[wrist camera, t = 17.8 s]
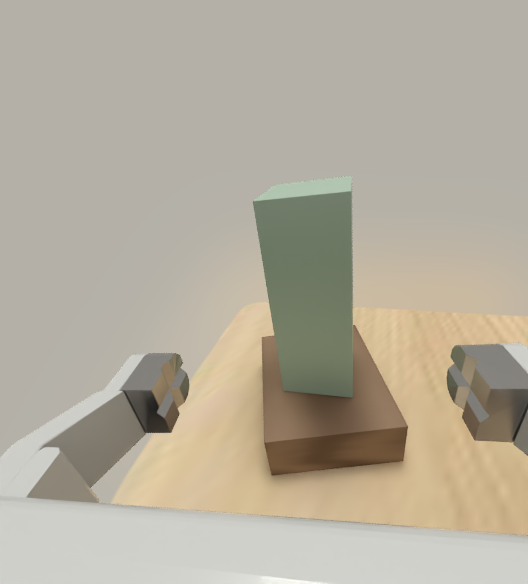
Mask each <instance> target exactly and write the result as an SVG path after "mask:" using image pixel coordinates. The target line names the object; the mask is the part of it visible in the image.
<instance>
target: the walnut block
mask: <svg viewBox="0 0 528 584" xmlns="http://www.w3.org/2000/svg"><path fill="white" fill-rule="evenodd" d="M262 365H263V405H264V443H265V447H266V452H267V456H268V460H269V465H270V469H271V473H272V475H279V474H288V473H298V472H307V471H316V470H325V469H334V468H343V467H352V466H362V465H371V464H380V463H389V462H398V461H403V458H404V451H405V444H406V436H407V429H408V426H407V424H406V422H405V420H404V418H403V416H402V414H401V412H400V410H399V409H398V407H397V405H396V403H395V401H394V399H393V397H392V395H391V393H390V391H389V389H388V387H387V386H386V384H385V382H384V380H383V378H382V376H381V374H380V372H379V370H378V368H377V366H376V364H375V363H374V361H373V359H372V357H371V355H370V353H369V351H368V349H367V347H366V345H365V343H364V342H363V340H362V338H361V336H360V334H359V332H358V330H357V328H356V326H355V325H353V398H349V397H339V396H330V395H320V394H310V393H300V392H290V391H283V385H282V378H281V372H280V366H279V360H278V354H277V348H276V341H275V336H268V337H262Z"/></svg>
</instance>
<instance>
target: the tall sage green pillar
mask: <svg viewBox="0 0 528 584" xmlns="http://www.w3.org/2000/svg"><path fill="white" fill-rule="evenodd" d="M253 205H254V211H255V218H256V223H257V230H258V236H259V242H260V248H261V254H262V261H263V266H264V273H265V279H266V286H267V291H268V298H269V304H270V310H271V317H272V323H273V329H274V335H275V341H276V348H277V354H278V360H279V366H280V372H281V378H282V385H283V391H290V392H300V393H310V394H320V395H330V396H339V397H349V398H353V272H352V271H353V268H352V267H353V264H352V263H353V262H352V176H347V177H338V178H330V179H322V180H313V181H305V182H296V183H288V184H280V185H274V186H273V187H271V188H270V189H269V190H267V191H266V192H265V193H263V194H262V195H261V196H259V197H258V198H257V199H255V200H254V201H253Z"/></svg>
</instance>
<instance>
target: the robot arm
mask: <svg viewBox="0 0 528 584" xmlns="http://www.w3.org/2000/svg"><path fill="white" fill-rule="evenodd" d="M451 358H452V360H453V361H454V363H455V364H453V365H452V366H451V367H450V368H449V369H448V372H447V386H448V390H449V393H450V396H451V398H452V400H453V402H454V403H455V404H456V405H458V406H459V407H460V408H462V409H463V410H464V412H463V416H462V418H463V420H464V422H465V424H466V425H467V427H468V429H469V431H470V433H471V435H472V436H473V438H474V440H478V441H498V442H514V443H513V444H514V445H515V446H516V447H518V448H519V449H520V450H521V451H523V452H524V453H525V454H526V455H528V348H527V347H526V346H525V345H523V344H521V343H501V344H485V345H456V346H454V348H453V349H452V353H451ZM182 363H183V362H182V359H181V357H180V355H178V354H176V353H166V354H165V353H152V354H151V353H149V354H134V355H132V356H130V358H129V359H128V360H127V361H126V362H125V364H124V365H123V366H122V368H121V369H120V370H119V371H118V373H117V374H116V375H115V376H114V378H113V379H112V380H111V382H110V383H109V384H108V385H107V387H106V388H105V389H104V390H103V391H98V392H97V393H95V394H93V395H92V396H90V397H88V398H87V399H85V400H83V401H82V402H80V403H79V404H77V405H75V406H74V407H72V408H71V409H69V410H67V411H66V412H64V413H63V414H61V415H59V416H58V417H56V418H54V419H53V420H51V421H50V422H48V423H46V424H45V425H43V426H42V427H40V428H38V429H37V430H35V431H33V432H32V433H30V434H29V435H27V436H25V437H24V438H22V439H21V440H19V441H18V442H16V443H14V444H13V445H12V446H11V447H10V448H9V449H8V450H7V451H6V452H5V453H4V454H3V455H2V456H1V457H0V584H528V535H517V534H504V533H491V532H478V531H465V530H451V529H438V528H425V527H412V526H399V525H386V524H373V523H359V522H346V521H333V520H320V519H306V518H293V517H280V516H266V515H253V514H239V513H226V512H213V511H199V510H186V509H173V508H159V507H146V506H133V505H119V504H105V503H99V500H98V498H97V496H96V495H95V494H94V492H93V491H92V490H91V489H90V488H91V487H92V486H93V485H94V484H95V483H96V482H97V481H98V480H99V479H100V478H101V477H102V476H103V475H104V474H105V473H106V472H107V471H108V470H109V469H110V468H111V467H112V466H113V465H114V464H115V463H117V461H119V460H120V459H121V458H122V457H123V456H124V455H125V454H126V453H127V452H128V451H129V450H130V449H131V448H132V447H133V446H134V445H135V444H136V443H137V442H138V441H139V440H140V439H141V438H142V437H143V436H144V435H145V433H171V432H172V430H173V427H174V425H175V423H176V421H177V418H178V416H179V411H178V407H179V406H181V405H182V404H183V403H184V402H185V400H186V398H187V396H188V391H189V379H188V376H187V373H186V372H185V371H183V370H182V369H181V368H180V367H181V365H182Z"/></svg>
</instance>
